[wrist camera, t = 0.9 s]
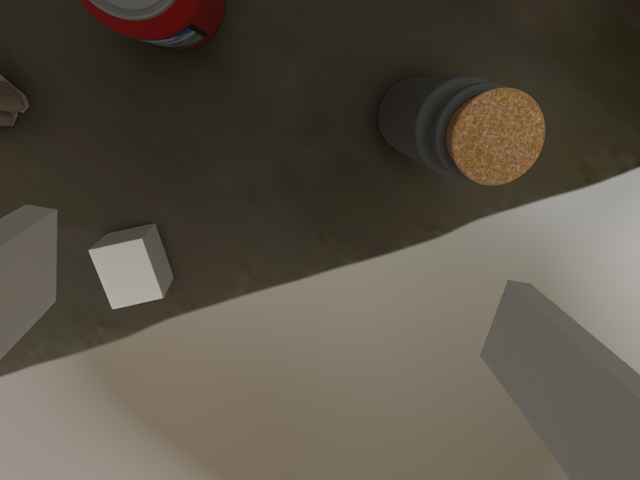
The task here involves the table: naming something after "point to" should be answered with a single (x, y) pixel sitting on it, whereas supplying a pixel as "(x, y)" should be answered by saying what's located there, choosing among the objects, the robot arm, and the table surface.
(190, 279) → the table surface
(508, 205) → the table surface
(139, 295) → the white block
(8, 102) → the toy
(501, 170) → the bottle
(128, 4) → the beverage can
